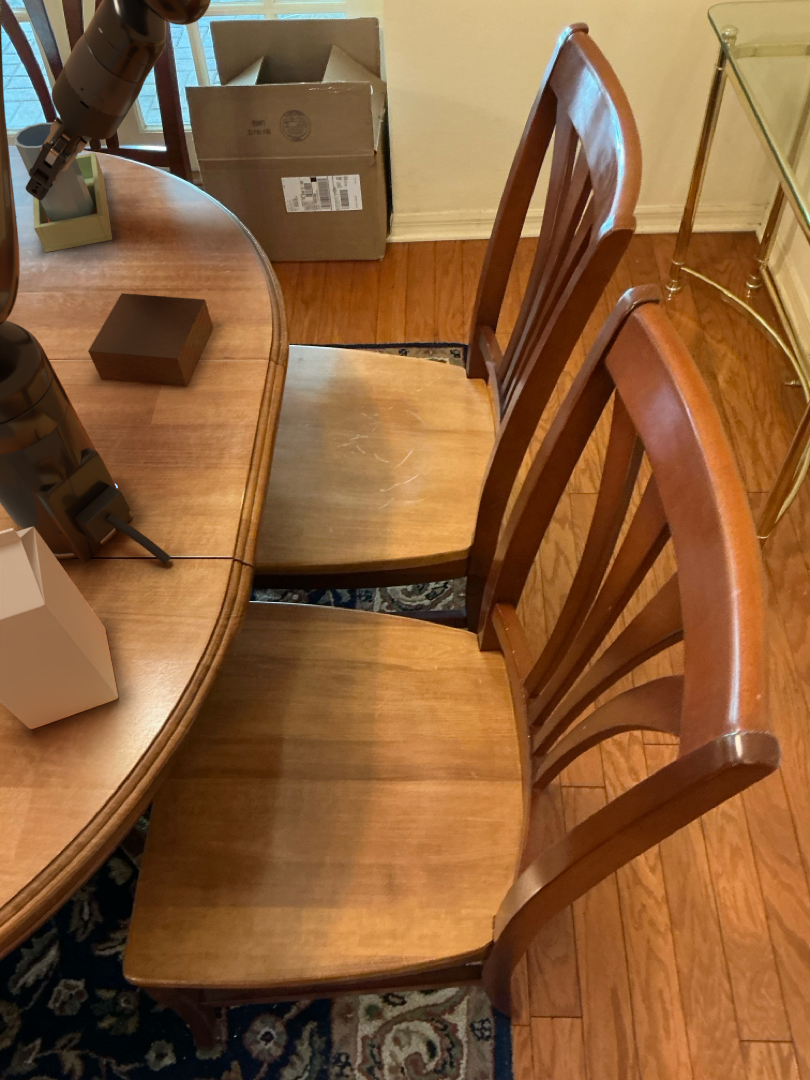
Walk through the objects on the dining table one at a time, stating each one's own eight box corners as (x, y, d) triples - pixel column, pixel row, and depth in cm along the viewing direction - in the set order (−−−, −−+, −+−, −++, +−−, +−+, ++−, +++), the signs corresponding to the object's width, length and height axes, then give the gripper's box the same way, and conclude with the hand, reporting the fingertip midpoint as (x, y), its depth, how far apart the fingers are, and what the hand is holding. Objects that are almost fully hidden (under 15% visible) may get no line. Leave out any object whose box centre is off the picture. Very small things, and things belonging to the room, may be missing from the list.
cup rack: (103, 176, 110) (95, 152, 107) (112, 239, 101) (103, 215, 98) (42, 187, 109) (32, 163, 106) (45, 252, 100) (34, 228, 97)
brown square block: (213, 327, 90) (205, 299, 87) (186, 386, 84) (177, 358, 81) (132, 321, 91) (121, 292, 88) (100, 379, 85) (87, 351, 82)
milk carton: (119, 699, 63) (18, 571, 47) (30, 731, 61) (-104, 609, 46) (106, 628, 67) (8, 489, 51) (22, 657, 65) (-105, 522, 50)
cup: (104, 206, 101) (75, 129, 93) (69, 229, 98) (37, 152, 90) (72, 194, 103) (41, 118, 95) (38, 216, 100) (3, 139, 92)
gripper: (93, 29, 89) (40, 129, 100) (41, 88, 81) (-10, 189, 92) (150, 80, 93) (93, 171, 104) (106, 141, 84) (49, 232, 95)
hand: (45, 179), depth 98 cm, fingers closed on cup, 6 cm apart
